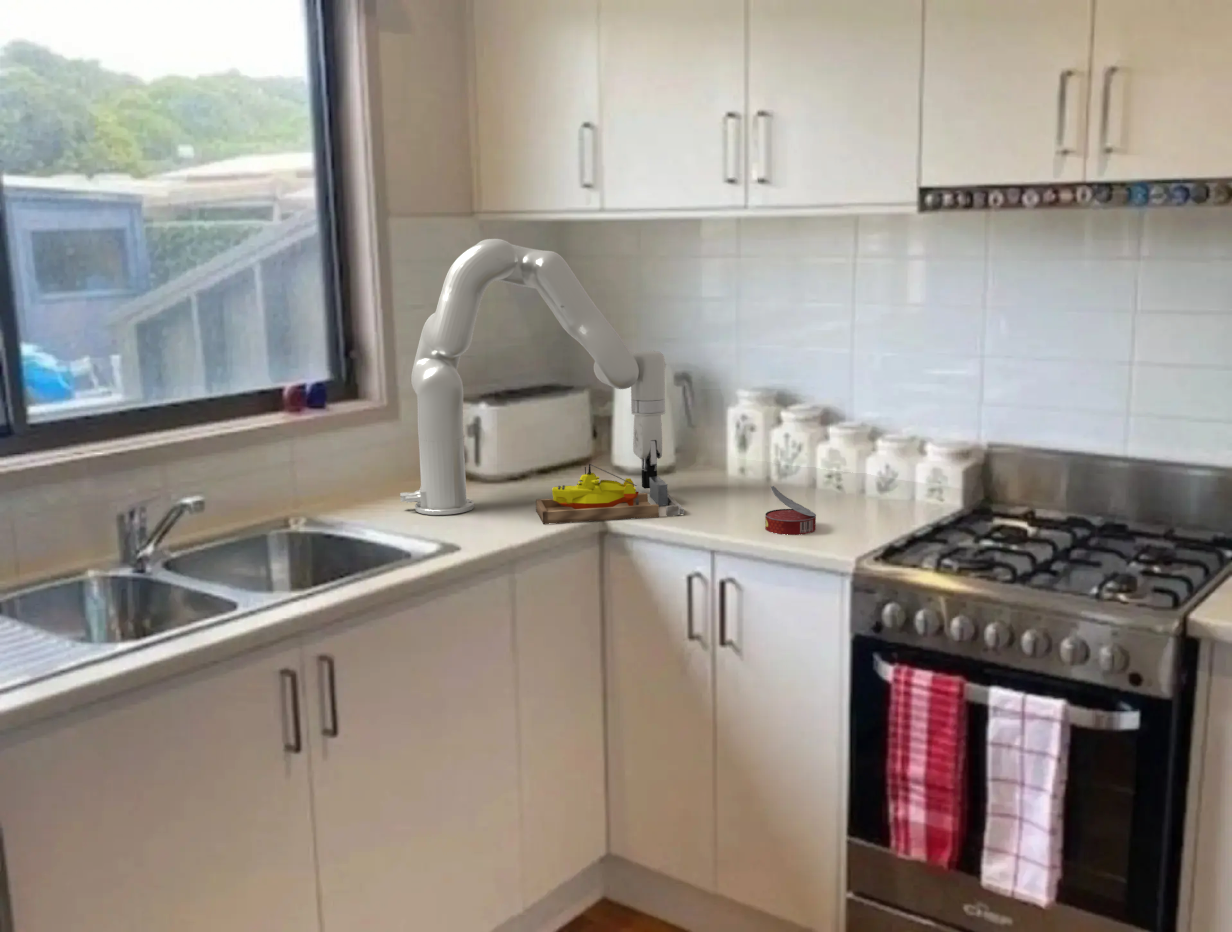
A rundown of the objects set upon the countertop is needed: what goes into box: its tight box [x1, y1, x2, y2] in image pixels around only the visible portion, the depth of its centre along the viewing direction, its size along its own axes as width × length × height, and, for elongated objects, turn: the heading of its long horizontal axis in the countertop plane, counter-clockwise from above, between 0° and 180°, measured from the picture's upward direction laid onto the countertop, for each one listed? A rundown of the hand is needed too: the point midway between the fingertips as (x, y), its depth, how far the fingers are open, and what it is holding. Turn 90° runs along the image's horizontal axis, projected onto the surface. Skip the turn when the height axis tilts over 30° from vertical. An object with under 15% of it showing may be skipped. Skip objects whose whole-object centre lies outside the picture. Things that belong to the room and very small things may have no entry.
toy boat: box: [551, 463, 640, 509], centre depth 252 cm, size 6×18×10 cm, turn 91°
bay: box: [535, 492, 685, 525], centre depth 257 cm, size 30×20×2 cm
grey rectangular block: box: [649, 475, 669, 507], centre depth 262 cm, size 2×9×4 cm, turn 10°
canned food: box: [764, 485, 817, 536], centre depth 237 cm, size 11×10×10 cm
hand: (649, 487), depth 272 cm, fingers closed
